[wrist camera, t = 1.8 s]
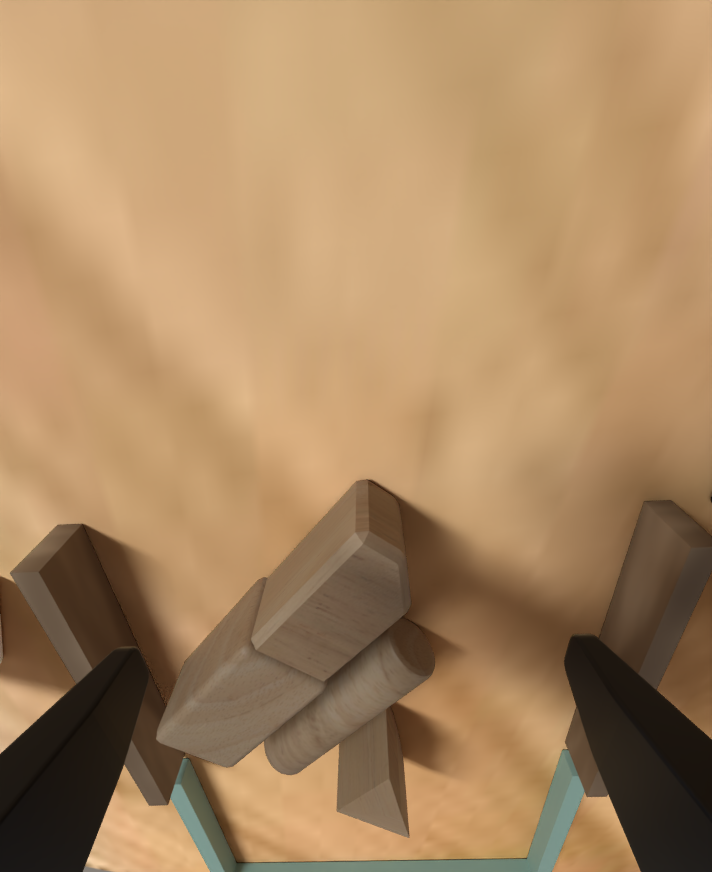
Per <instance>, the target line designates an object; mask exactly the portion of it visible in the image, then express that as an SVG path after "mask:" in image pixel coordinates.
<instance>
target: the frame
mask: <svg viewBox="0 0 712 872" xmlns="http://www.w3.org/2000/svg"><path fill="white" fill-rule="evenodd" d="M584 792H585V791H584V788H583V786H582V783H581V781H580V778H579V776H578V773H577V771H576V768H575V766H574V763H573V761H572V758H571V756H570V753H569V751H568V750H562V753H561V756H560V759H559V762H558V765H557V768H556V771H555V774H554V777H553V781H552V784H551V787H550V790H549V793H548V796H547V799H546V802H545V805H544V808H543V811H542V814H541V817H540V820H539V823H538V826H537V829H536V832H535V835H534V838H533V841H532V845H531V848H530V851H529V854H528V857H527V859H483V860H419V861H355V862H290V863H236V861H235V858H234V856H233V854H232V852H231V850H230V847H229V845H228V843H227V841H226V839H225V837H224V834H223V832H222V830H221V828H220V826H219V823H218V821H217V819H216V817H215V815H214V812H213V810H212V808H211V806H210V804H209V801H208V799H207V797H206V795H205V793H204V790H203V788H202V786H201V784H200V782H199V779H198V777H197V775H196V773H195V771H194V768H193V766H192V764H191V762H190V760H189V759H183V761H182V764H181V767H180V770H179V773H178V776H177V779H176V782H175V785H174V788H173V791H172V794H171V797H170V798H171V800H172V802H173V803H174V805H175V807H176V809H177V811H178V813H179V815H180V816H181V818H182V820H183V822H184V824H185V826H186V828H187V829H188V831H189V833H190V835H191V837H192V839H193V841H194V842H195V844H196V846H197V848H198V850H199V852H200V854H201V855H202V857H203V859H204V861H205V863H206V865H207V867H208V868H209V870H210V872H552V870H553V868H554V865H555V863H556V860H557V858H558V855H559V853H560V851H561V848H562V846H563V843H564V841H565V838H566V836H567V833H568V831H569V829H570V826H571V824H572V821H573V819H574V816H575V814H576V811H577V809H578V807H579V804H580V802H581V799H582V797H583V794H584Z"/></svg>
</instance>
